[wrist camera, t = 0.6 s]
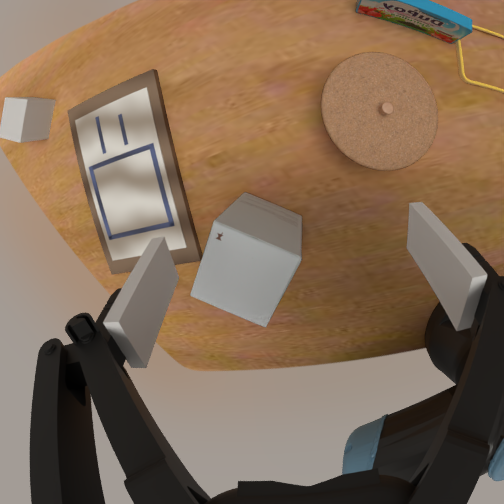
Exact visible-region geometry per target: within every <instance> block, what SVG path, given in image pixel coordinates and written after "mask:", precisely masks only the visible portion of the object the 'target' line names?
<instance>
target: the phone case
mask: <svg viewBox="0 0 504 504" xmlns="http://www.w3.org/2000/svg"><path fill="white" fill-rule="evenodd" d="M472 28H474V29H477V30H480V31H483V32H486V33H489V34H492V35H494V36H497V37H500V38H502V39H504V36H503V35H500V34H498V33H495V32H492V31H490V30H487V29H484V28H481V27H478V26H475V25H472ZM455 44H456V52H457V59H458V68H459V75H460V78H461V79H462V80H463V81H464V82H465V83H468V84H472V85H478V86H481V87H483V88H490V89H491V90H497V91H498V92H501V93H504V89H501V88H497V87H494V86H491V85H487V84H484V83H480V82H476V81H472V80H469V79H468V78H467V77H466V76H465V74H464V65H463V56H462V49H461V42H460V39H459V40H458V41H456V42H455Z"/></svg>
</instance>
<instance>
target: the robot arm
mask: <svg viewBox="0 0 504 504" xmlns="http://www.w3.org/2000/svg"><path fill="white" fill-rule="evenodd" d="M407 249H408V251H409V252H410V254H411V255H412V257H413V259H414V260H415V262H416V263H417V265H418V266H419V268H420V269H421V271H422V273H423V274H424V276H425V277H426V279H427V281H428V282H429V284H430V286H431V287H432V289H433V291H434V292H435V294H436V296H437V297H438V299H439V301H440V303H439V304H438V306H437V307H436V309H435V310H434V312H433V314H432V315H431V318H430V320H429V322H428V325H427V329H426V334H425V345H426V349H427V351H428V354H429V356H430V358H431V360H432V362H433V364H434V365H435V366H436V367H437V368H438V369H439V370H440V371H442V372H443V373H444V374H445V375H446V376H447V377H449V378H450V379H451V380H452V381H453V382H454V383H455V384H456V385H455V386H453V387H451V388H449V389H447V390H445V391H442V392H440V393H438V394H436V395H434V396H432V397H430V398H428V399H425V400H423V401H421V402H419V403H416V404H414V405H412V406H409V407H407V408H405V409H402V410H400V411H397V412H395V413H392V414H390V415H388V414H386V415H384V416H382V418H380V419H378V420H375V421H373V422H370V423H368V424H365V425H363V426H360V427H358V428H357V429H355V430H354V432H353V433H352V434H351V435H350V436H349V438H348V440H347V443H346V447H345V451H344V457H343V469H342V473H343V474H342V475H341V476H338V477H336V478H333V479H330V480H327V481H324V482H321V483H318V484H315V485H312V486H299V485H293V484H287V483H281V482H275V481H238V488H235V489H232V490H229V491H226V492H224V493H221V494H219V495H217V496H215V497H213V498H212V499H211V498H210V497H209V496H208V495H207V494H206V493H205V492H204V491H203V489H202V488H201V487H200V486H199V485H198V484H197V483H196V481H195V480H194V479H193V477H192V476H191V475H190V473H189V472H188V471H187V469H186V468H185V466H184V465H183V463H182V462H181V461H180V459H179V458H178V456H177V455H176V453H175V452H174V450H173V449H172V447H171V446H170V444H169V443H168V441H167V440H166V438H165V437H164V435H163V433H162V432H161V430H160V429H159V427H158V426H157V424H156V422H155V421H154V419H153V417H152V416H151V414H150V412H149V411H148V409H147V407H146V406H145V404H144V402H143V400H142V399H141V397H140V395H139V394H138V392H137V390H136V388H135V386H134V384H133V382H132V380H131V379H130V377H129V375H128V373H127V371H126V369H125V368H124V367H123V365H124V362H125V360H127V362H128V363H129V365H130V366H131V367H133V368H146V367H147V364H148V361H149V358H150V356H151V353H152V350H153V347H154V344H155V341H156V339H157V336H158V333H159V330H160V328H161V325H162V322H163V319H164V317H165V314H166V311H167V308H168V306H169V303H170V300H171V298H172V295H173V293H174V290H175V287H176V285H177V282H178V280H179V276H178V273H177V270H176V268H175V265H174V262H173V259H172V257H171V254H170V251H169V248H168V245H167V243H166V240H165V237H158V238H152V239H151V241H150V242H149V244H148V246H147V247H146V249H145V250H144V252H143V254H142V255H141V257H140V259H139V260H138V262H137V264H136V265H135V267H134V269H133V270H132V272H131V274H130V275H129V277H128V279H127V281H126V282H125V284H124V286H123V287H122V288H120V289H117V290H116V291H115V292H114V293H113V294H112V295H111V296H110V298H109V300H108V301H107V304H106V305H105V307H104V308H103V309H104V310H102V312H101V314H100V315H99V317H98V319H97V321H96V323H95V322H94V320H93V318H92V317H91V315H90V314H89V313H80V314H78V315H76V316H74V317H73V318H72V319H70V320H69V322H68V323H67V325H66V327H65V331H66V333H67V334H68V336H69V337H70V339H71V340H72V341H73V343H72V344H69V345H65V346H64V345H63V344H62V342H61V341H60V340H59V339H56V338H54V339H50V340H49V341H47V342H45V343H44V344H43V345H42V347H41V348H40V350H39V354H38V360H37V366H36V374H35V381H34V390H33V400H32V412H31V428H30V485H31V501H32V504H105V500H104V496H103V490H102V485H101V480H100V474H99V468H98V462H97V455H96V447H95V439H94V430H93V421H92V410H91V397H92V399H93V402H94V405H95V407H96V410H97V412H98V415H99V417H100V420H101V422H102V425H103V427H104V430H105V432H106V434H107V437H108V439H109V441H110V443H111V445H112V448H113V450H114V452H115V454H116V456H117V458H118V460H119V462H120V464H121V466H122V469H123V470H124V472H125V474H126V478H127V479H126V480H125V481H124V484H125V487H126V489H127V491H128V493H129V495H130V497H131V499H132V500H133V502H134V504H467V502H468V500H469V498H470V496H471V494H472V492H473V490H474V488H475V485H476V483H477V481H478V479H479V476H481V475H483V474H485V473H487V472H488V475H489V477H490V478H492V479H493V480H494V481H501V480H504V276H499V275H498V274H497V273H496V272H495V270H494V269H493V268H492V267H491V266H490V265H489V263H488V262H487V261H485V259H484V258H483V256H481V254H480V253H479V252H478V251H477V250H476V249H475V248H474V247H473V246H471V245H469V244H468V243H462V244H461V243H460V241H459V240H458V239H457V238H456V237H455V236H454V235H453V234H452V233H451V231H450V230H449V229H448V228H447V227H446V226H445V225H444V224H443V223H442V222H441V221H440V220H439V219H438V218H437V217H436V216H435V215H434V214H433V213H432V212H431V211H430V210H429V209H428V208H427V207H426V206H425V205H424V204H423V203H422V202H416V203H409V223H408V238H407Z"/></svg>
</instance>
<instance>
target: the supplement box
mask: <svg viewBox="0 0 504 504" xmlns="http://www.w3.org/2000/svg"><path fill="white" fill-rule="evenodd" d="M301 246H302V216H301V215H298V214H296V213H294V212H292V211H290V210H287V209H285V208H283V207H280V206H278V205H276V204H273V203H271V202H268V201H266V200H263V199H261V198H259V197H256V196H254V195H251V194H249V193H246V192H244V193H243V194H242V195H241V196H240V197H239V198H238V199H237V200H236V201H235V202H234V203H232V204H231V205H230V206H229V207H228V208H227V209H226V210H225V211H224V212H223V213H222V214H221V215H220V216H219V217H218V218H217V219H215V220H214V222H213V225H212V228H211V231H210V234H209V237H208V241H207V244H206V247H205V250H204V253H203V256H202V259H201V263H200V266H199V269H198V272H197V276H196V279H195V282H194V285H193V288H192V291H191V294H190V295H191V296H192V297H194V298H197V299H199V300H201V301H204V302H206V303H208V304H211V305H213V306H215V307H218V308H220V309H222V310H225V311H227V312H229V313H232V314H234V315H237V316H239V317H241V318H244V319H246V320H248V321H251V322H253V323H256V324H258V325H261V326H263V327H266V326H267V324H268V322H269V320H270V318H271V317H272V315H273V313H274V311H275V309H276V307H277V305H278V304H279V302H280V300H281V298H282V296H283V294H284V292H285V291H286V289H287V287H288V285H289V283H290V281H291V279H292V277H293V276H294V274H295V272H296V270H297V268H298V266H299V264H300V262H301V260H302V253H301Z"/></svg>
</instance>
